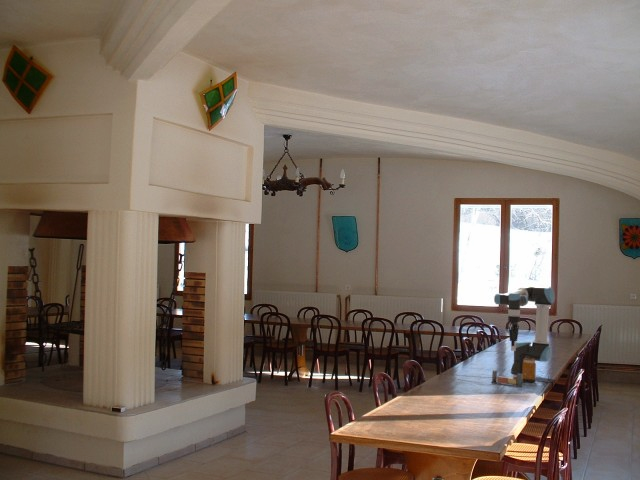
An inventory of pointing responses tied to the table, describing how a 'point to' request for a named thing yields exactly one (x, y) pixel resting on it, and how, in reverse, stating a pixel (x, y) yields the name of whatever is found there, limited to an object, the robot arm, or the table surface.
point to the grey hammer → (517, 380)
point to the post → (494, 376)
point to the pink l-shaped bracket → (505, 380)
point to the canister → (528, 367)
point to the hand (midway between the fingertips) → (513, 350)
